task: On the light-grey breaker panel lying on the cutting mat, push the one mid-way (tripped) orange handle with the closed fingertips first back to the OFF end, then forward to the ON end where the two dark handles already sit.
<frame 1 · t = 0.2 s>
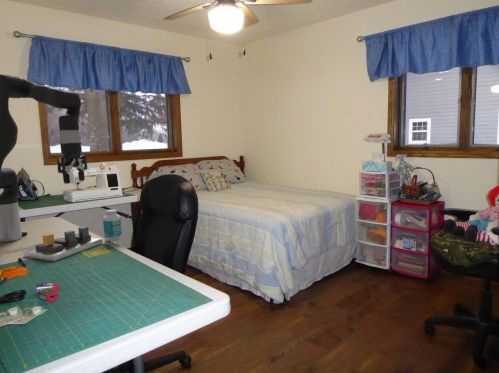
hand: (74, 182, 145), 28 cm above the table, fingers open, 8 cm apart
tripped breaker: (48, 239, 141), point 6 cm above the table, slide at 0.0 cm
panel: (65, 249, 149), on the table
pill bottle: (113, 239, 162), on the table
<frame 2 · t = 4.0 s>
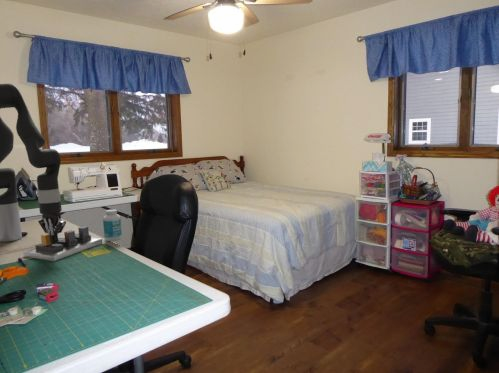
hand: (54, 243, 141), 5 cm above the table, fingers closed
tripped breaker: (46, 239, 142), point 6 cm above the table, slide at -0.9 cm, touching gripper
everything else where it was.
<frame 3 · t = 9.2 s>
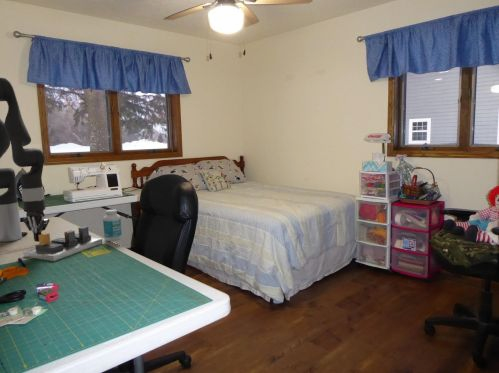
hand: (38, 241, 144), 5 cm above the table, fingers closed
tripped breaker: (44, 238, 142), point 6 cm above the table, slide at -2.3 cm, touching gripper
everything else where it was.
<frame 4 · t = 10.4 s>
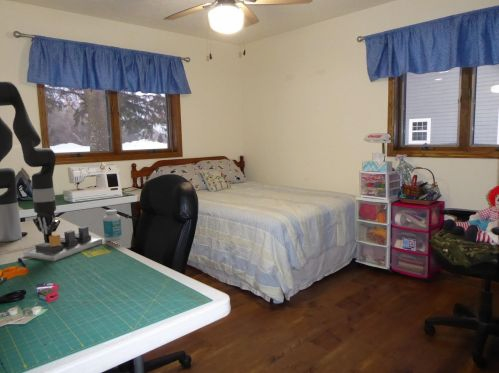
hand: (48, 242, 141), 5 cm above the table, fingers closed
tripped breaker: (54, 240, 140), point 6 cm above the table, slide at 3.6 cm, touching gripper
everything else where it was.
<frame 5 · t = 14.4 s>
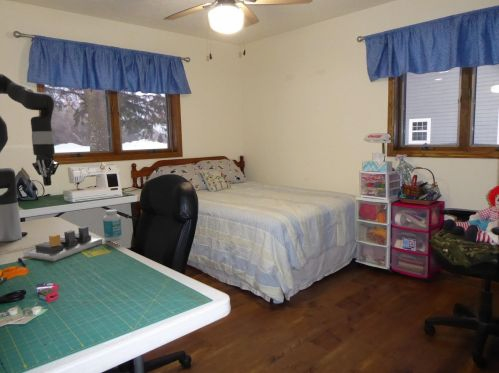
hand: (47, 185, 146), 27 cm above the table, fingers closed
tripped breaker: (54, 240, 140), point 6 cm above the table, slide at 3.6 cm
everything else where it was.
at the end: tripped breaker slide at 3.6 cm; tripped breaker touching nothing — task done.
